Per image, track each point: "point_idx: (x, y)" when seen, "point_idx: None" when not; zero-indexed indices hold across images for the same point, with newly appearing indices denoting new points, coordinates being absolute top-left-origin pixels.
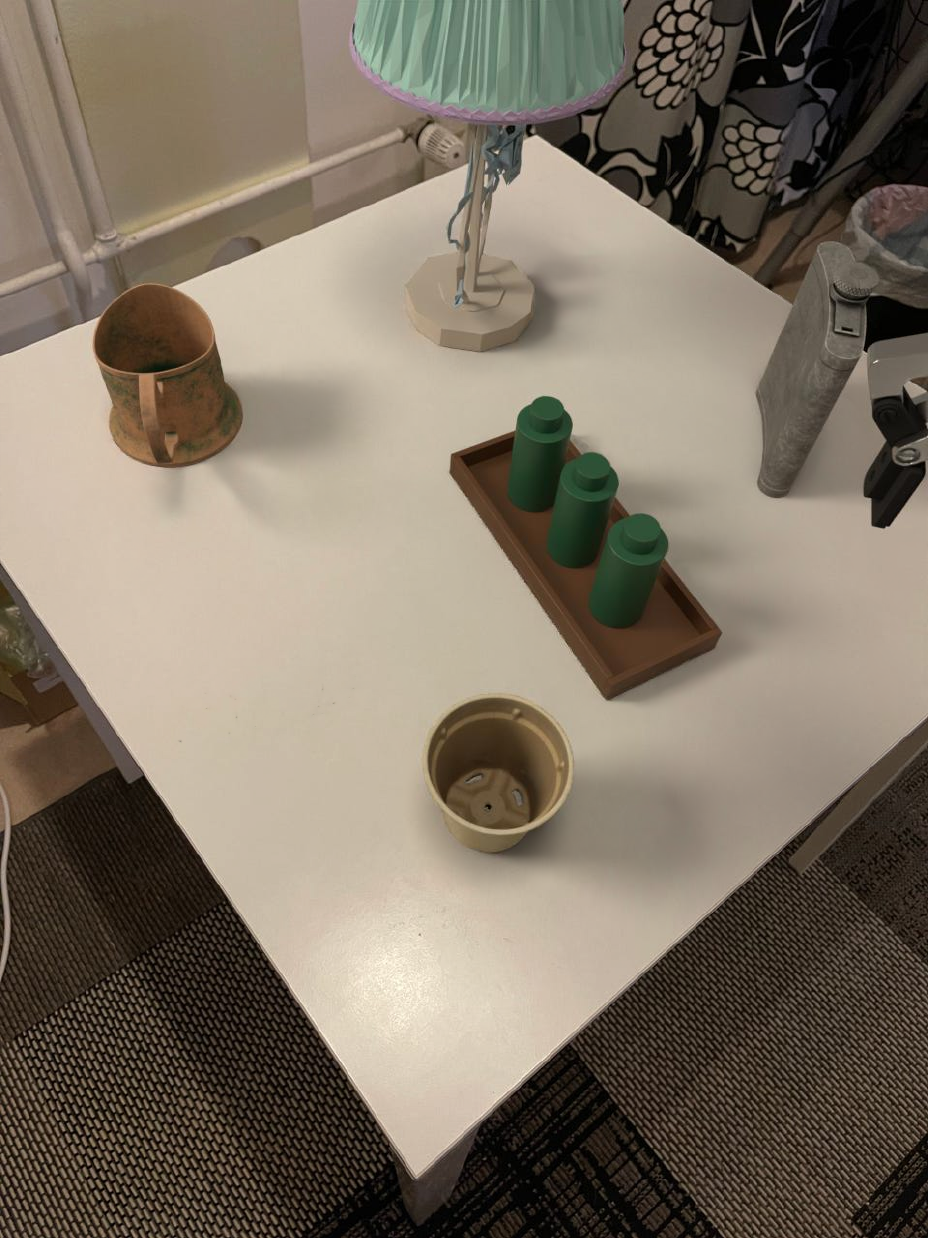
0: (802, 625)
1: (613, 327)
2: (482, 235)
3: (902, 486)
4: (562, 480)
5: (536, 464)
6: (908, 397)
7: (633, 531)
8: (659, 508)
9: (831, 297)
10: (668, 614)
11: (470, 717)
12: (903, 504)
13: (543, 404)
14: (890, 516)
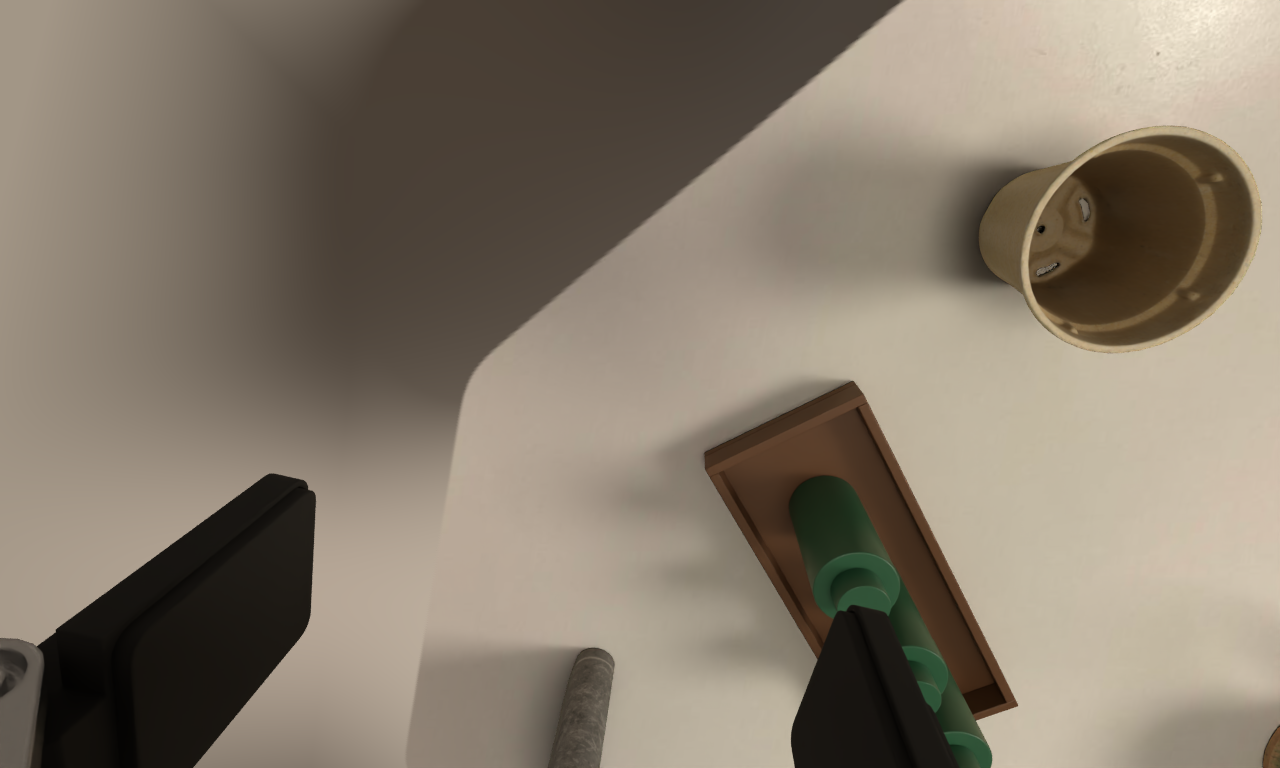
0: (589, 484)
1: None
2: None
3: (946, 762)
4: (947, 676)
5: (947, 696)
6: None
7: (879, 601)
8: (741, 633)
9: None
10: (758, 495)
11: (1134, 323)
12: (871, 685)
13: None
14: (876, 643)
